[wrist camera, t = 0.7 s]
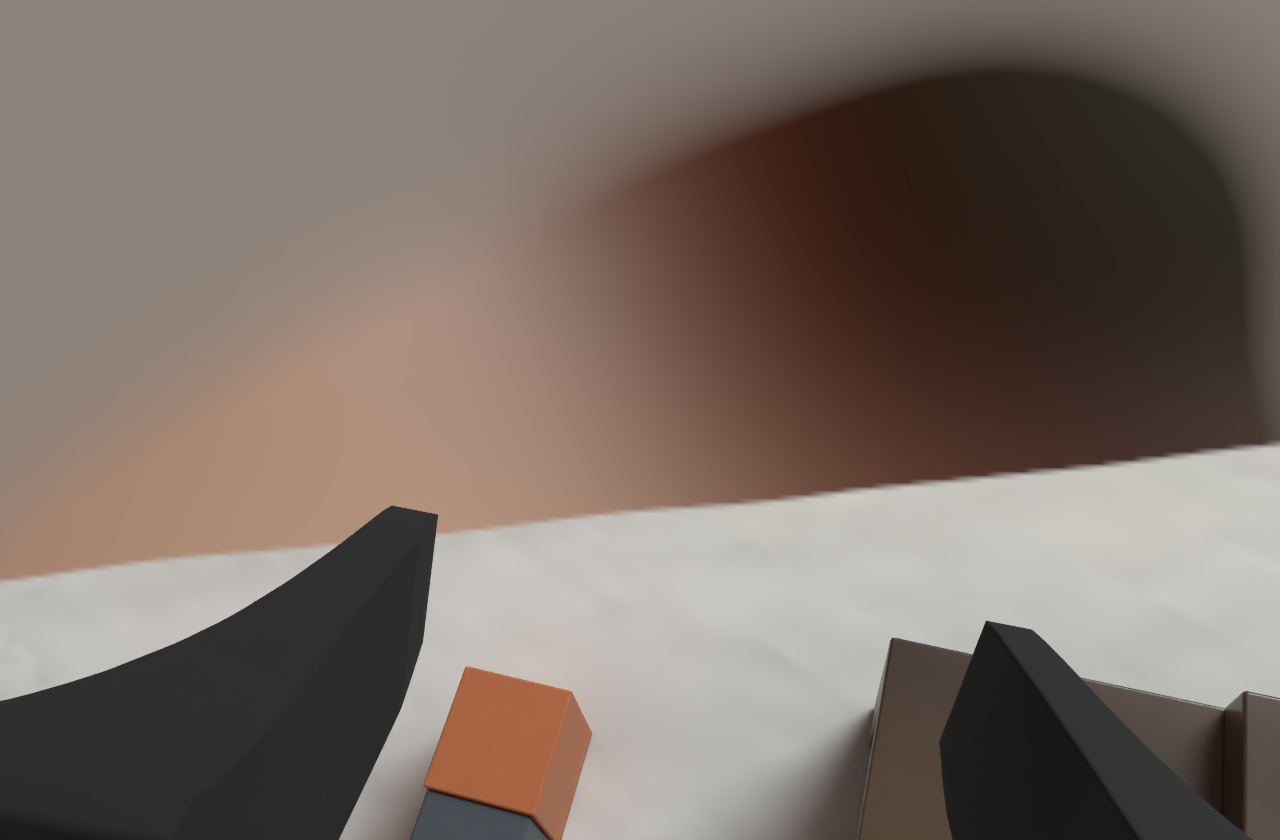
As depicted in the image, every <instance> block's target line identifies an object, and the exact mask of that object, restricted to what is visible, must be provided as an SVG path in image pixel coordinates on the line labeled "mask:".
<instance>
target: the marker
mask: <svg viewBox="0 0 1280 840" xmlns="http://www.w3.org/2000/svg"><path fill="white" fill-rule="evenodd" d="M591 736H592V732H591V730H590V728H589V726H588V724H587V722H586V720H585V718H584V716H583V714H582V712H581V709H580V707H579V705H578V703H577V701H576V699H575V697H574V695H573V693H572V692H571V691H568V690H564V689H559V688H555V687H551V686H547V685H543V684H539V683H534V682H530V681H526V680H522V679H518V678H514V677H509V676H505V675H501V674H497V673H493V672H488V671H484V670H480V669H476V668H472V667H466V668H465V670H464V673H463V675H462V678H461V681H460V684H459V687H458V689H457V692H456V695H455V698H454V701H453V703H452V706H451V709H450V712H449V714H448V717H447V720H446V723H445V726H444V728H443V731H442V734H441V737H440V739H439V742H438V745H437V748H436V751H435V753H434V756H433V759H432V762H431V765H430V767H429V770H428V773H427V776H426V778H425V781H424V787H425V788H426V789H427V790H428V791H427V793H426V795H425V798H424V801H423V804H422V807H421V809H420V812H419V815H418V818H417V821H416V823H415V826H414V829H413V832H412V835H411V837H410V840H561V838H562V835H563V831H564V828H565V824H566V821H567V818H568V814H569V811H570V807H571V804H572V801H573V797H574V794H575V790H576V787H577V783H578V780H579V777H580V773H581V770H582V766H583V763H584V760H585V756H586V753H587V749H588V746H589V742H590V739H591Z"/></svg>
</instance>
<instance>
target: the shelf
mask: <svg viewBox="0 0 1280 840" xmlns="http://www.w3.org/2000/svg"><path fill="white" fill-rule="evenodd" d="M972 656H973V654H968V653H963V652H958V651H954V650H949V649H944V648H940V647H935V646H930V645H926V644H921V643H916V642H912V641H907V640H902V639H898V638H892V639H891V640H890V644H889V649H888V653H887V658H886V661H885V666H884V670H883V674H882V678H881V682H880V687H879V691H878V695H877V699H876V704H875V709H874V715H873V720H872V726H871V732H870V738H869V744H868V746H869V748H871V753H870V759H869V765H868V770H867V776H866V782H865V788H864V794H863V800H862V806H861V812H860V818H859V824H858V830H857V836H856V840H953V839H952V835H951V831H950V827H949V822H948V818H947V814H946V806H945V798H944V789H943V781H942V769H941V757H940V745H939V741H940V738H941V735H942V733H943V730H944V728H945V725H946V723H947V720H948V717H949V715H950V712H951V710H952V707H953V705H954V702H955V699H956V697H957V694H958V692H959V689H960V687H961V684H962V681H963V679H964V676H965V674H966V671H967V669H968V666H969V663H970V661H971V658H972ZM1081 679H1082V680H1083V681H1084V682H1085V683H1086V684H1087V685H1088V686H1089V687H1090V688H1091V689H1092V691H1093V692H1094V693H1095V694H1096V695H1097V696H1098V697H1099V698H1100V699H1101V700H1102V701H1103V702H1104V703H1105V704H1106V705H1107V706H1108V707H1109V708H1110V709H1111V710H1112V711H1113V713H1114V714H1115V715H1116V716H1117V717H1118V718H1119V719H1120V720H1121V721H1122V722H1123V723H1124V724H1125V725H1126V726H1127V727H1128V728H1129V729H1130V730H1131V731H1132V732H1133V733H1134V734H1135V735H1136V736H1137V737H1138V738H1139V739H1140V740H1141V741H1142V742H1143V743H1144V744H1145V745H1146V746H1147V747H1148V748H1149V749H1150V750H1151V751H1152V752H1153V753H1154V754H1155V755H1156V756H1157V757H1158V758H1159V759H1160V760H1162V761H1163V762H1164V763H1165V764H1166V765H1167V766H1168V767H1169V768H1170V769H1171V770H1172V771H1173V772H1174V773H1176V774H1177V775H1178V776H1179V777H1180V778H1181V779H1182V780H1183V781H1184V782H1185V783H1186V784H1187V785H1189V786H1190V787H1191V788H1192V789H1193V790H1194V791H1195V792H1196V793H1197V794H1198V795H1199V796H1201V797H1202V798H1203V799H1204V800H1205V801H1206V802H1207V803H1209V804H1210V805H1211V806H1212V807H1213V808H1214V809H1216V810H1217V811H1218V812H1219V813H1220V814H1221V815H1223V816H1224V817H1225V818H1226V819H1228V820H1229V821H1230V822H1231V823H1233V824H1234V825H1235V826H1236V827H1237V828H1239V829H1240V830H1241V831H1242V832H1244V833H1245V834H1246V835H1247V836H1249V837H1250V838H1251V839H1252V840H1280V698H1276V697H1272V696H1267V695H1262V694H1257V693H1253V692H1248V691H1245V692H1242V693H1241V694H1240V695H1239V696H1238V697H1237V698H1236V699H1235V700H1234V701H1233V702H1232V703H1230V704H1229V705H1228V706H1227V707H1226V709H1225V708H1220V707H1216V706H1211V705H1206V704H1202V703H1197V702H1192V701H1188V700H1183V699H1178V698H1173V697H1169V696H1164V695H1159V694H1155V693H1150V692H1145V691H1141V690H1136V689H1131V688H1127V687H1122V686H1117V685H1113V684H1108V683H1103V682H1099V681H1094V680H1089V679H1085V678H1081Z"/></svg>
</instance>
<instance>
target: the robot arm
mask: <svg viewBox="0 0 1280 840" xmlns="http://www.w3.org/2000/svg"><path fill="white" fill-rule="evenodd" d="M437 519H438V515H437V514H432V513H426V512H422V511H417V510H411V509H406V508H401V507H395V506H390V507H389V508H387V509H385V510H384V511H382V512H381V513H380V514H379V515H377V516H376V517H374V518H373V519H372V520H371V521H369V522H368V523H367V524H366V525H364V526H363V527H362V528H360V529H359V530H358V531H356V532H355V533H354V534H353V535H351V536H350V537H349V538H347V539H346V540H345V541H343V542H342V543H341V544H339V545H338V546H337V547H335V548H334V549H333V550H331V551H330V552H329V553H327V554H326V555H324V556H323V557H322V558H320V559H319V560H317V561H316V562H315V563H313V564H312V565H310V566H309V567H307V568H306V569H305V570H303V571H302V572H300V573H299V574H298V575H296V576H295V577H293V578H292V579H290V580H289V581H287V582H286V583H284V584H283V585H281V586H279V587H278V588H276V589H275V590H273V591H271V592H270V593H268V594H267V595H265V596H263V597H262V598H260V599H259V600H257V601H255V602H254V603H252V604H250V605H249V606H247V607H246V608H244V609H242V610H241V611H239V612H237V613H235V614H234V615H232V616H230V617H228V618H226V619H224V620H223V621H221V622H219V623H217V624H215V625H213V626H211V627H209V628H207V629H204V630H202V631H200V632H198V633H196V634H194V635H192V636H190V637H188V638H186V639H184V640H182V641H179V642H177V643H175V644H173V645H170V646H168V647H165V648H163V649H160V650H158V651H155V652H152V653H150V654H147V655H145V656H142V657H140V658H137V659H135V660H132V661H130V662H127V663H125V664H122V665H120V666H117V667H115V668H112V669H109V670H106V671H103V672H101V673H98V674H94V675H91V676H88V677H85V678H82V679H79V680H76V681H73V682H70V683H66V684H63V685H59V686H56V687H53V688H49V689H46V690H42V691H39V692H35V693H32V694H28V695H24V696H20V697H16V698H12V699H8V700H3V701H0V840H339V838H340V836H341V834H342V832H343V830H344V828H345V825H346V823H347V821H348V819H349V817H350V815H351V813H352V811H353V809H354V807H355V805H356V802H357V800H358V798H359V796H360V794H361V792H362V790H363V788H364V786H365V784H366V782H367V779H368V777H369V775H370V773H371V771H372V769H373V767H374V765H375V763H376V761H377V759H378V756H379V754H380V752H381V750H382V748H383V746H384V744H385V742H386V740H387V737H388V735H389V733H390V731H391V729H392V727H393V725H394V723H395V720H396V718H397V716H398V714H399V712H400V710H401V707H402V704H403V701H404V698H405V695H406V692H407V689H408V686H409V683H410V680H411V677H412V674H413V671H414V668H415V665H416V662H417V659H418V656H419V652H420V649H421V646H422V643H423V636H424V628H425V619H426V611H427V603H428V594H429V586H430V578H431V569H432V561H433V552H434V544H435V536H436V527H437ZM939 745H940V757H941V769H942V781H943V789H944V798H945V806H946V814H947V818H948V822H949V827H950V831H951V835H952V839H953V840H1252V839H1251V838H1250V837H1249V836H1247V835H1246V834H1245V833H1244V832H1242V831H1241V830H1240V829H1239V828H1237V827H1236V826H1235V825H1234V824H1233V823H1231V822H1230V821H1229V820H1228V819H1226V818H1225V817H1224V816H1223V815H1221V814H1220V813H1219V812H1218V811H1217V810H1216V809H1214V808H1213V807H1212V806H1211V805H1210V804H1209V803H1207V802H1206V801H1205V800H1204V799H1203V798H1202V797H1201V796H1199V795H1198V794H1197V793H1196V792H1195V791H1194V790H1193V789H1192V788H1191V787H1190V786H1189V785H1187V784H1186V783H1185V782H1184V781H1183V780H1182V779H1181V778H1180V777H1179V776H1178V775H1177V774H1176V773H1174V772H1173V771H1172V770H1171V769H1170V768H1169V767H1168V766H1167V765H1166V764H1165V763H1164V762H1163V761H1162V760H1160V759H1159V758H1158V757H1157V756H1156V755H1155V754H1154V753H1153V752H1152V751H1151V750H1150V749H1149V748H1148V747H1147V746H1146V745H1145V744H1144V743H1143V742H1142V741H1141V740H1140V739H1139V738H1138V737H1137V736H1136V735H1135V734H1134V733H1133V732H1132V731H1131V730H1130V729H1129V728H1128V727H1127V726H1126V725H1125V724H1124V723H1123V722H1122V721H1121V720H1120V719H1119V718H1118V717H1117V716H1116V715H1115V714H1114V713H1113V711H1112V710H1111V709H1110V708H1109V707H1108V706H1107V705H1106V704H1105V703H1104V702H1103V701H1102V700H1101V699H1100V698H1099V697H1098V696H1097V695H1096V694H1095V693H1094V692H1093V691H1092V689H1091V688H1090V687H1089V686H1088V685H1087V684H1086V683H1085V682H1084V681H1083V680H1082V679H1081V678H1080V677H1079V676H1078V675H1077V674H1076V673H1075V672H1074V671H1073V669H1072V668H1071V667H1070V666H1069V665H1068V664H1067V663H1066V662H1065V661H1064V660H1063V659H1062V658H1061V657H1060V656H1059V655H1058V654H1057V653H1056V652H1055V651H1054V650H1053V649H1052V648H1051V647H1050V646H1049V645H1048V644H1047V643H1046V642H1045V641H1044V640H1043V639H1042V638H1041V637H1040V636H1039V635H1038V634H1036V633H1035V632H1034V631H1033V630H1031V629H1026V628H1021V627H1015V626H1010V625H1005V624H1000V623H995V622H990V621H986V622H985V625H984V627H983V630H982V633H981V635H980V638H979V640H978V643H977V645H976V648H975V651H974V653H973V656H972V658H971V661H970V663H969V666H968V669H967V671H966V674H965V676H964V679H963V681H962V684H961V687H960V689H959V692H958V694H957V697H956V699H955V702H954V705H953V707H952V710H951V712H950V715H949V717H948V720H947V723H946V725H945V728H944V730H943V733H942V735H941V738H940V741H939Z"/></svg>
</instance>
